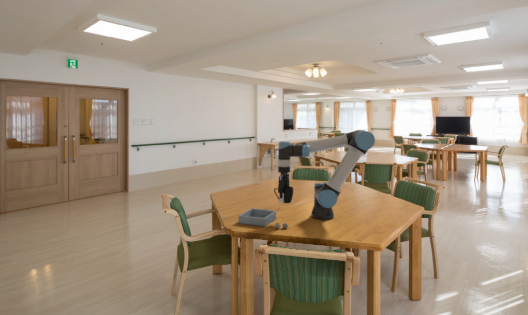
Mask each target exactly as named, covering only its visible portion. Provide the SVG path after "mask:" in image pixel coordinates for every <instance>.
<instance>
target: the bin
mask: <svg viewBox="0 0 528 315" xmlns="http://www.w3.org/2000/svg"><path fill="white" fill-rule="evenodd" d="M262 209H263V208H254V207H253V208H249V209H248V210H246V211H244V212H243V213H241V214H239V215H238V224H240V225H246V226H254V227H262V228H265V227H267V226H268V225H269V224H271V223H272V222H274V220H276V219H277V211H276V210H272V211H271V210H262Z"/></svg>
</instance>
